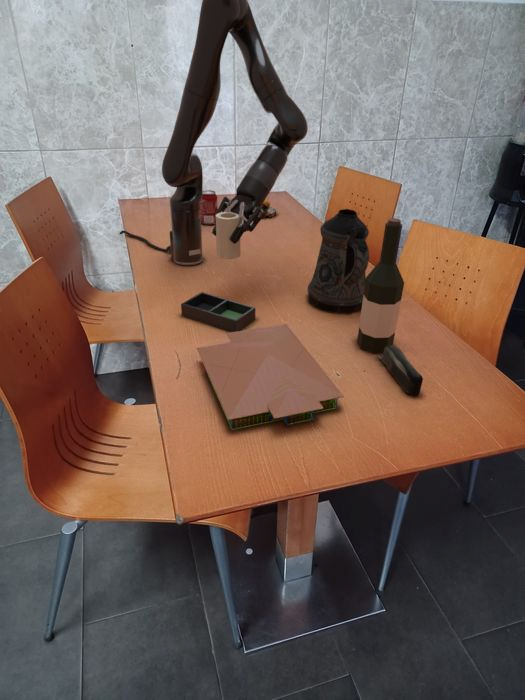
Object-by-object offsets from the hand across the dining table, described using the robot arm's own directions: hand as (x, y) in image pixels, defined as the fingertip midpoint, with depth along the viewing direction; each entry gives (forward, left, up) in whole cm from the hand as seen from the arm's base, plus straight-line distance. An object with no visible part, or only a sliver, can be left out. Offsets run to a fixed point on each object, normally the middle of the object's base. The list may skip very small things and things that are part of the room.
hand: (223, 238), depth 127 cm
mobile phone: (+52, -9, -18) cm, 56 cm away
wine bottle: (+43, +1, -18) cm, 47 cm away
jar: (0, +2, -5) cm, 5 cm away
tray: (+4, -8, -18) cm, 20 cm away
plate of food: (-34, +77, -18) cm, 86 cm away
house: (+28, -27, -18) cm, 43 cm away
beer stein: (+27, +18, -18) cm, 37 cm away
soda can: (-45, +55, -18) cm, 73 cm away
